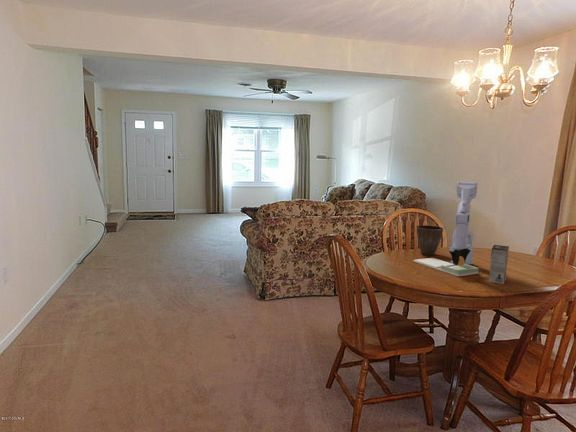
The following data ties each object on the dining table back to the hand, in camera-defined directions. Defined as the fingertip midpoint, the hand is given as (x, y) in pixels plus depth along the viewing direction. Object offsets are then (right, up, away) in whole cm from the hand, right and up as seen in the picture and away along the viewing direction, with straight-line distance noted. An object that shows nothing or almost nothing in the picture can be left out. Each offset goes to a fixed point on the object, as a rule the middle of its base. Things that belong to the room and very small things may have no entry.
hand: (458, 264), depth 197 cm
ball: (0, +1, 0) cm, 2 cm away
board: (-4, -3, +9) cm, 10 cm away
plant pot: (-2, +1, +39) cm, 39 cm away
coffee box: (+12, -6, -14) cm, 19 cm away
